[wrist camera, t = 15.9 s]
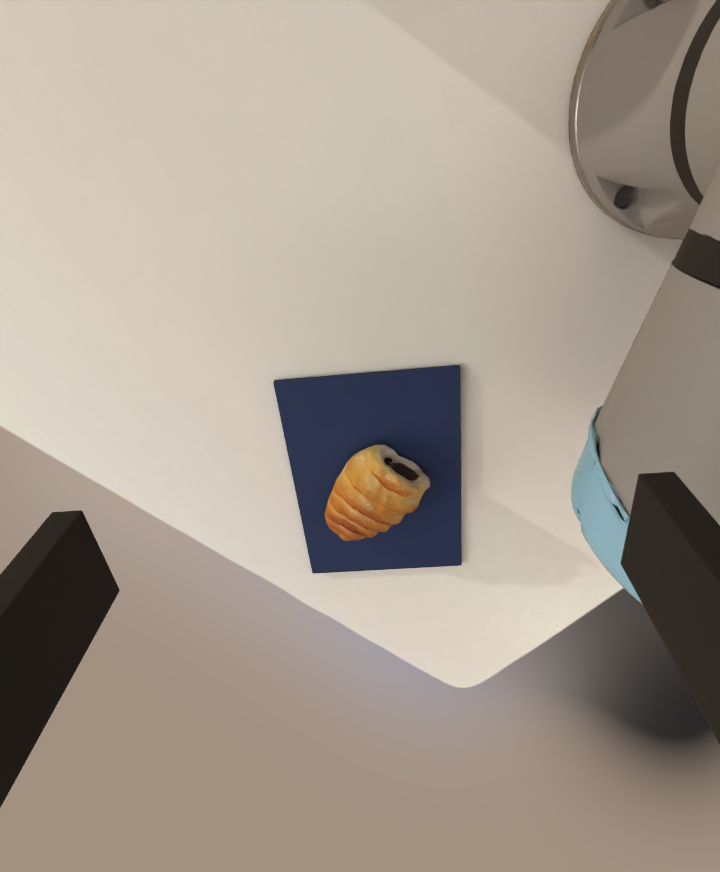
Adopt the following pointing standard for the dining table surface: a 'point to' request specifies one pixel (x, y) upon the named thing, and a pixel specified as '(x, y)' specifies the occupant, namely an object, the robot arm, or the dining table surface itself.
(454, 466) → the cloth mat
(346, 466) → the pastry
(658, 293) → the robot arm
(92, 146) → the dining table surface
